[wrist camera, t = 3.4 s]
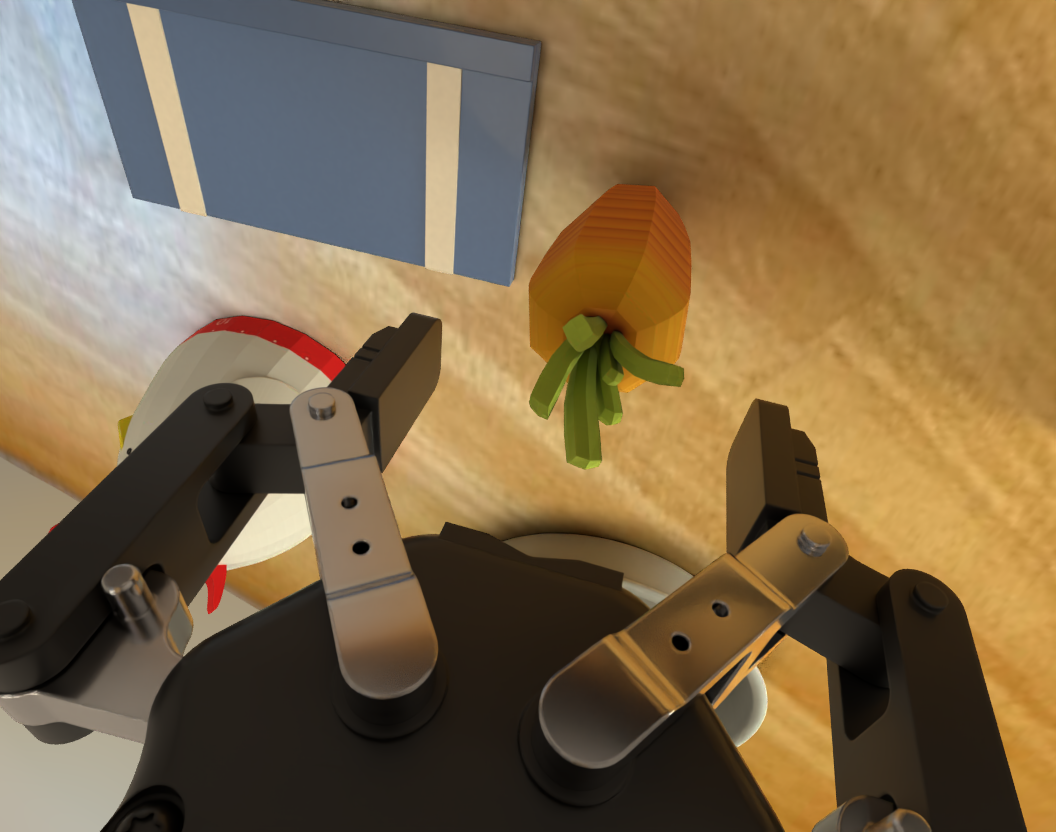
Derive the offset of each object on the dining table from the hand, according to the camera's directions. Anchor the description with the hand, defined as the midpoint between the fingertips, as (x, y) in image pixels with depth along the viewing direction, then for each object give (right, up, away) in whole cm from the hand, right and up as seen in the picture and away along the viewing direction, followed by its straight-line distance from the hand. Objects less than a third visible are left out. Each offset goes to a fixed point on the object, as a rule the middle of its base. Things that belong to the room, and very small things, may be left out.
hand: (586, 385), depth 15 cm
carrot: (+3, +8, +10) cm, 14 cm away
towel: (-11, +12, +12) cm, 20 cm away
